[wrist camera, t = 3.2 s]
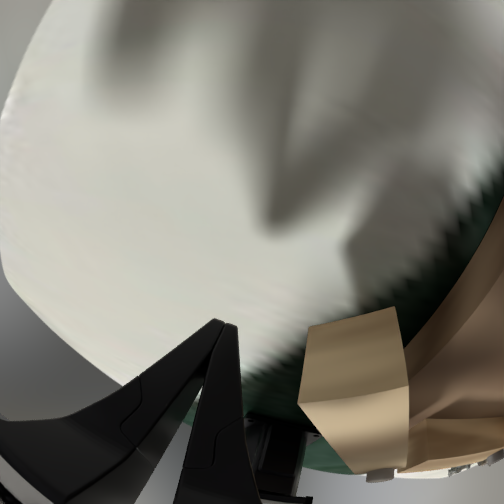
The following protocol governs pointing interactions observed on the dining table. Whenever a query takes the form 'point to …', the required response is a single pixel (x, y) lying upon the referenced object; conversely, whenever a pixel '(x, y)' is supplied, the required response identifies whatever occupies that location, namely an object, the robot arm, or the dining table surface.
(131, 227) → the dining table surface
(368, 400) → the hinged leg
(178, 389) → the robot arm
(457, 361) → the wooden slat frame
